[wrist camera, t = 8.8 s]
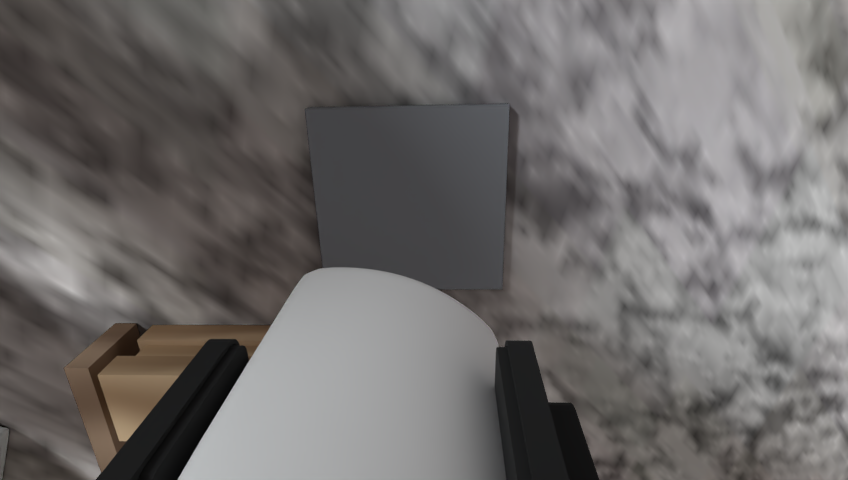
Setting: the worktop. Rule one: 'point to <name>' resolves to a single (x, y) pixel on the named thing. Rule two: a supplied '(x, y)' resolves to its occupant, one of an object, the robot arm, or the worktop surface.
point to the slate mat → (412, 190)
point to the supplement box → (3, 448)
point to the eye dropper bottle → (361, 389)
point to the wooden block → (161, 367)
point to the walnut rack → (90, 391)
